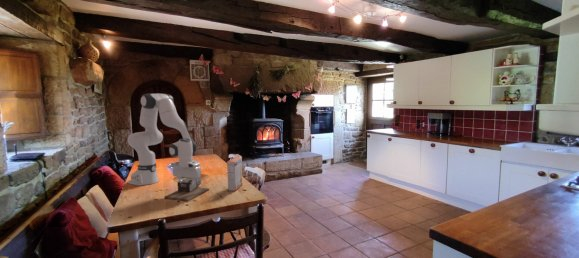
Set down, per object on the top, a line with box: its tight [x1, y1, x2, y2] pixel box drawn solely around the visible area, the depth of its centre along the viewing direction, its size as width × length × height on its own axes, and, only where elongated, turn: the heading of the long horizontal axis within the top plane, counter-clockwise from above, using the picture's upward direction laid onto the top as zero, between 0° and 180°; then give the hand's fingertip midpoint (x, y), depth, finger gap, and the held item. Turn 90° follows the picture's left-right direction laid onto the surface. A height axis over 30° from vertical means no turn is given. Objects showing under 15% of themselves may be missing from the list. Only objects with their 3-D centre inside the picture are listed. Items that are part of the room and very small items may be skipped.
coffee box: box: [177, 176, 202, 192], centre depth 192 cm, size 9×6×16 cm
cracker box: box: [226, 156, 243, 192], centre depth 195 cm, size 14×6×21 cm, turn 170°
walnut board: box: [164, 186, 210, 202], centre depth 183 cm, size 18×22×1 cm
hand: (187, 183), depth 182 cm, fingers open, 7 cm apart
